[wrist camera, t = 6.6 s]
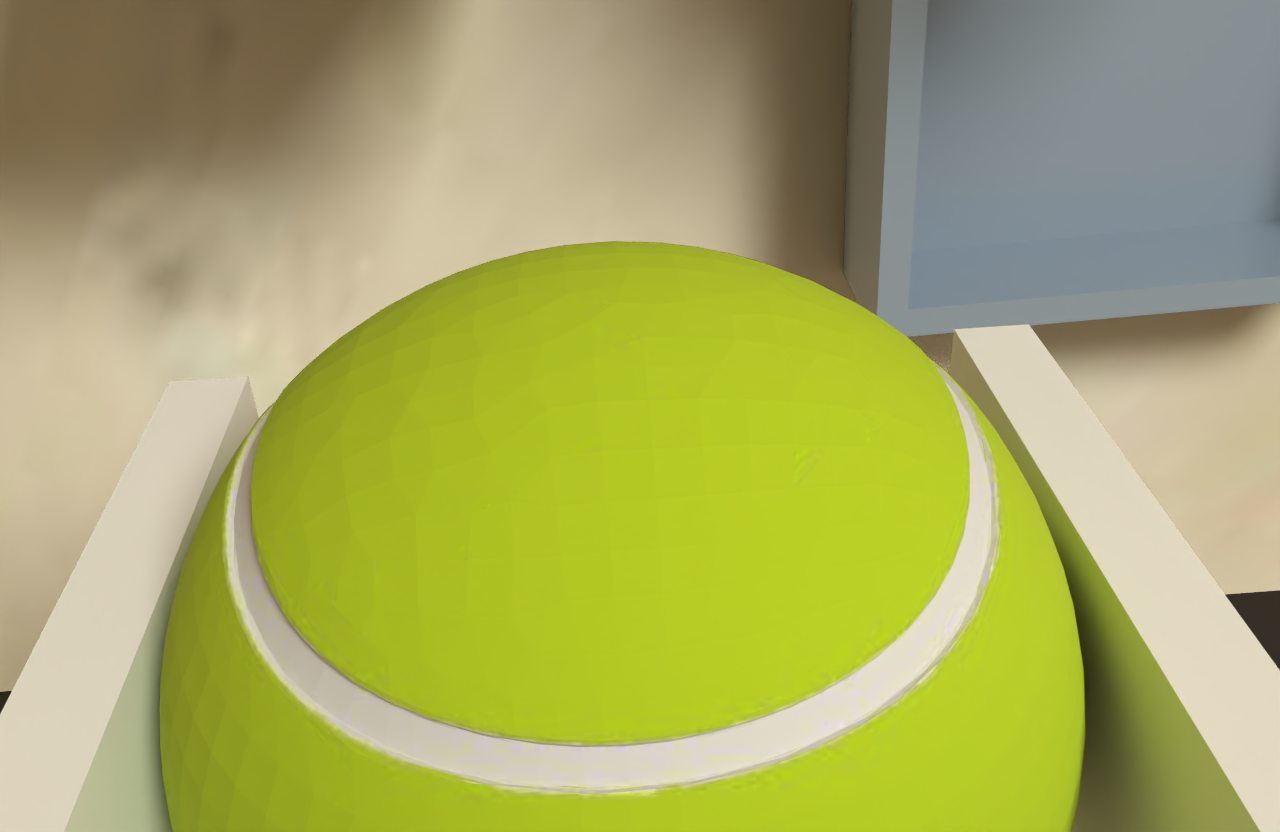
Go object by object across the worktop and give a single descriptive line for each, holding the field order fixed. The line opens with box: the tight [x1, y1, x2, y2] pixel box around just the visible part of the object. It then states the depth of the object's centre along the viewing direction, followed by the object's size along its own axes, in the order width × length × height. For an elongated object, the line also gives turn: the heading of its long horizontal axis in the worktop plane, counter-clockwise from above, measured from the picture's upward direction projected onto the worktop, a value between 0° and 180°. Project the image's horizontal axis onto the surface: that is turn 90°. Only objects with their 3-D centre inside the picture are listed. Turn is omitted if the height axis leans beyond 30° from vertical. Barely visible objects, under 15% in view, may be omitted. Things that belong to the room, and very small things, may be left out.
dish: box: [843, 0, 1280, 337], centre depth 22 cm, size 11×11×3 cm
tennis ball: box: [159, 241, 1085, 832], centre depth 10 cm, size 7×7×7 cm
